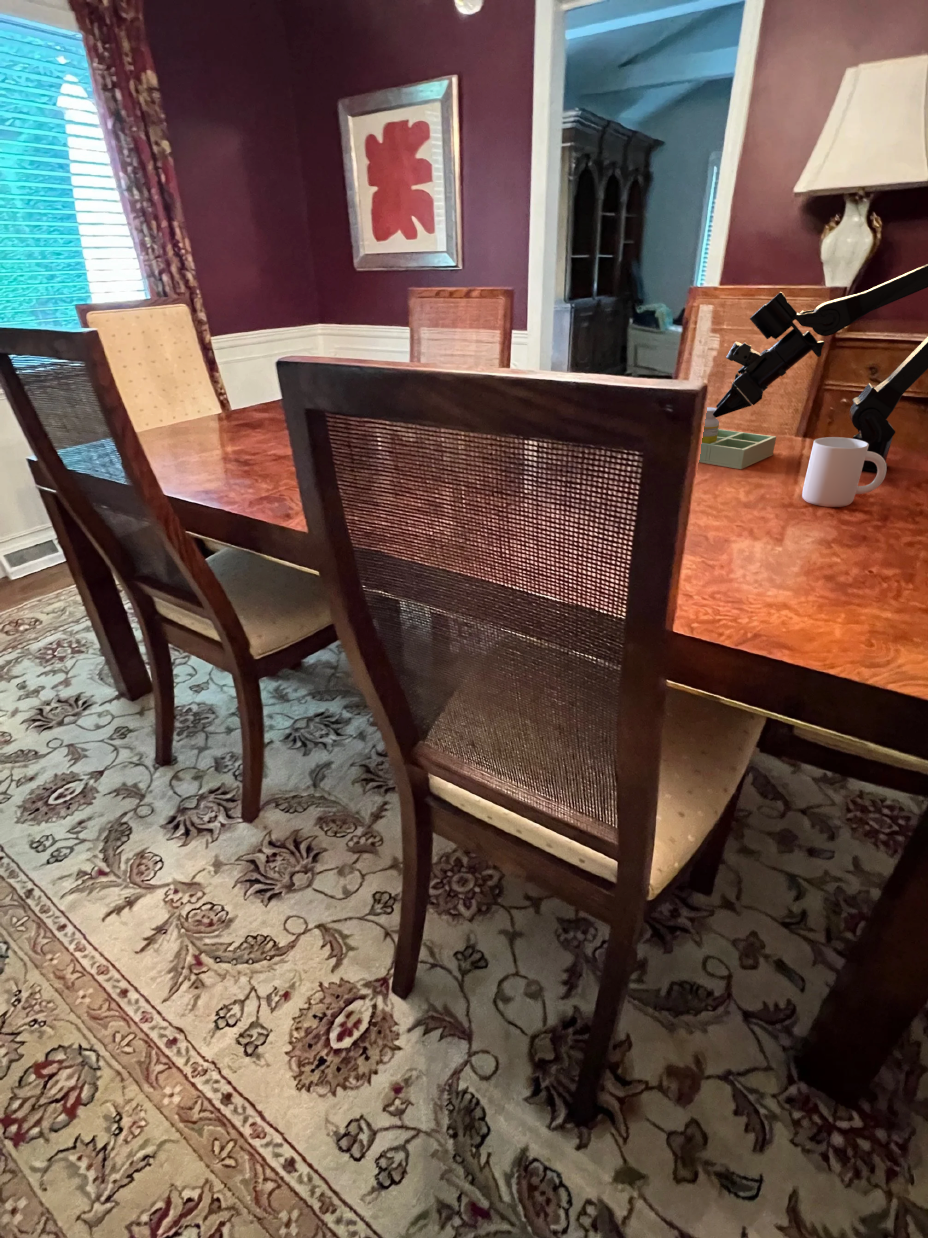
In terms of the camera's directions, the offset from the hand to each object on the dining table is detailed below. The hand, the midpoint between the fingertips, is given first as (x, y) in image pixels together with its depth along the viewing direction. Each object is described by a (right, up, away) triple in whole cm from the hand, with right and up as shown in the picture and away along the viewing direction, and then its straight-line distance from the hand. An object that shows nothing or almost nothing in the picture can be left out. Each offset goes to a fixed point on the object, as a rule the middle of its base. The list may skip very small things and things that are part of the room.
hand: (715, 411), depth 135 cm
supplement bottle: (-1, -8, +5) cm, 10 cm away
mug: (+12, -24, -24) cm, 36 cm away
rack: (+4, -8, +5) cm, 11 cm away
